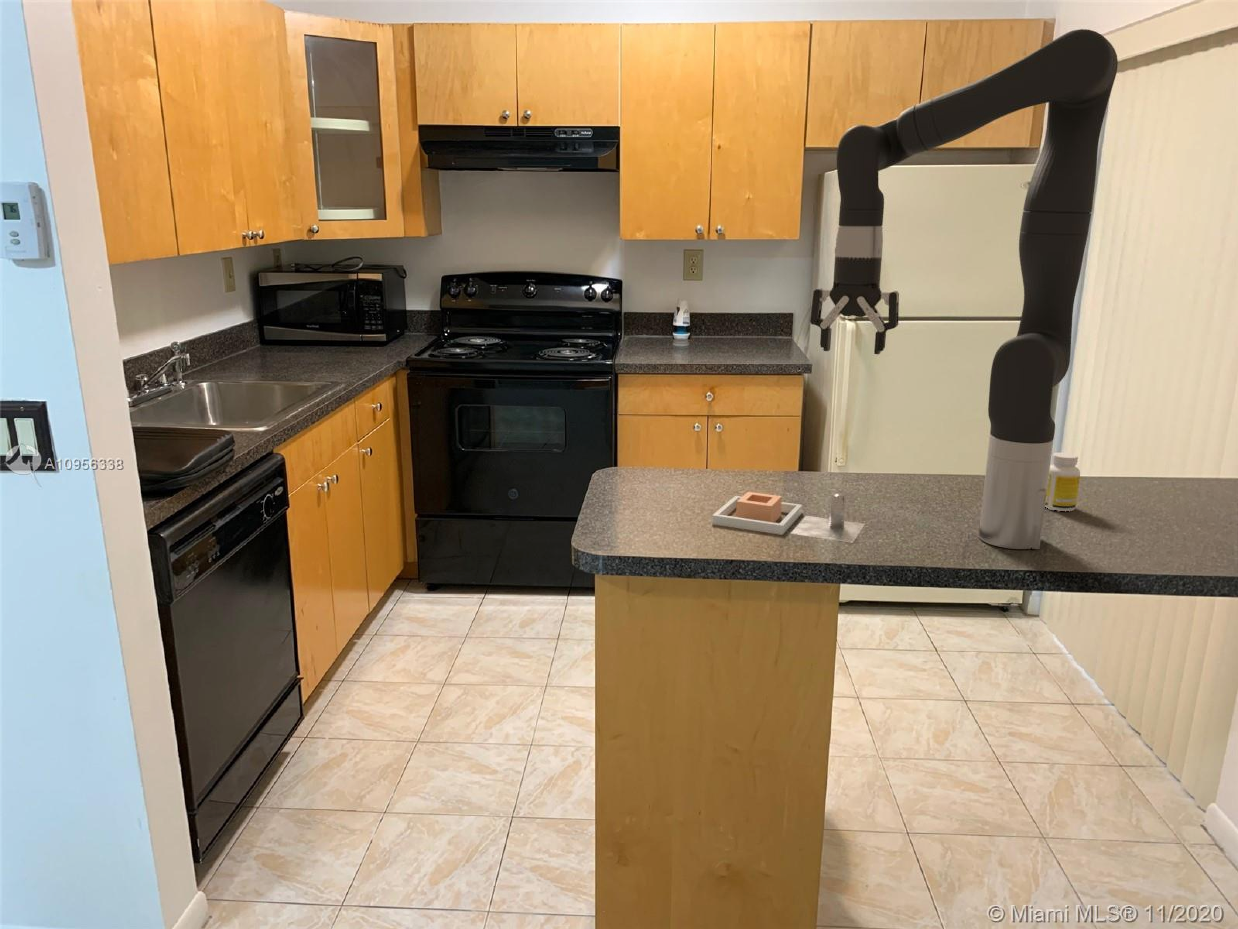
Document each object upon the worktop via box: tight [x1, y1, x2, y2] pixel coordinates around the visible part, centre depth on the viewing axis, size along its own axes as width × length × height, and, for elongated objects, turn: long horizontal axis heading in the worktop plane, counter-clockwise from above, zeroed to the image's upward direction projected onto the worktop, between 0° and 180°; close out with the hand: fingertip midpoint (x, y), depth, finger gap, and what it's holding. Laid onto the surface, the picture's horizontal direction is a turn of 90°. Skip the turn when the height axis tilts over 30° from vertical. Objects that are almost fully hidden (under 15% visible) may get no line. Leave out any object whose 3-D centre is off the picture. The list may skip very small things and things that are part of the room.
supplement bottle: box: [1045, 452, 1081, 513], centre depth 164 cm, size 5×5×10 cm
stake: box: [790, 492, 866, 544], centre depth 151 cm, size 10×10×6 cm
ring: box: [735, 491, 783, 523], centre depth 156 cm, size 6×6×4 cm
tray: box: [711, 495, 803, 536], centre depth 156 cm, size 12×12×2 cm
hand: (851, 352), depth 157 cm, fingers open, 8 cm apart
